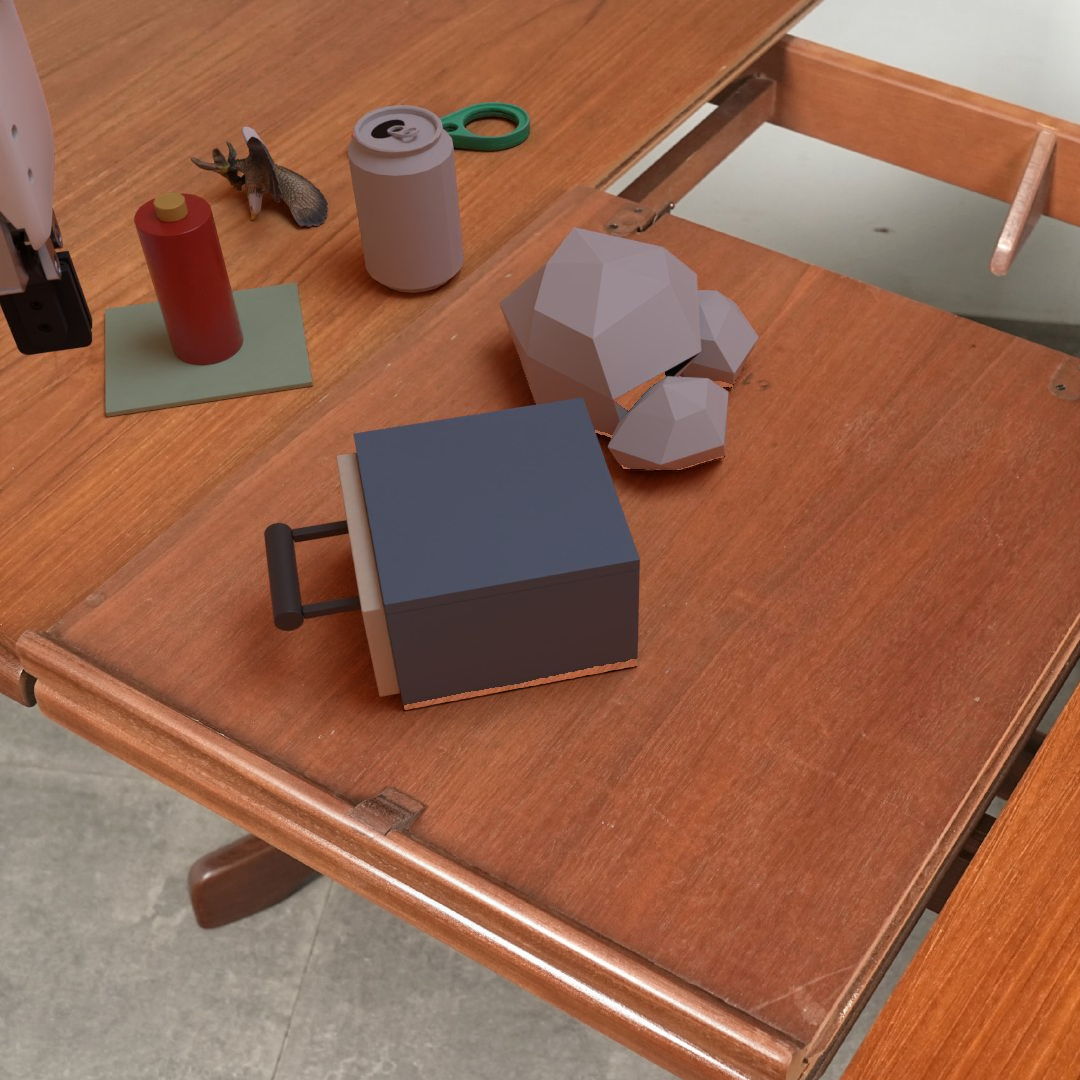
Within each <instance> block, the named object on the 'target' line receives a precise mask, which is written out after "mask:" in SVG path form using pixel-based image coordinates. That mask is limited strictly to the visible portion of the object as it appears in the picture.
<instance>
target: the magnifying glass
mask: <svg viewBox="0 0 1080 1080" xmlns="http://www.w3.org/2000/svg"><path fill="white" fill-rule="evenodd" d="M484 117H499V118H504V119H508V120H509V121H512V122H513V123H514V124H516V125H517V127H516V128H515V129H514V130H511V132H507V133H504V134H501V135H491V136H488V135H480V134H476V133H474V132H472V131H469V130H468V129H467V128H465V127H466V125H467V124H468V123H469V122H472V121H473V120H476V119H479V118H484ZM438 118H439V119H440V120H441V121H442V127H443V129H444V130H445V131H446V132H447V133H448V134H449V135H450V137H451V138H452V142H453V148H456V149H465V150H476V151H486V152H490V151H493V152H494V151H501V150H506V149H510V148H515V147H516V146H518V145H520V144H522V143H523V142H525V141H526V140H527V139H528V138H529V136H530V134H531V121H530V119H531V118H530V115H529V114H528V112H527V111H526V110H525V109H524V108H522V107H520V106H518V105H515V104H512V103H507V102H501V101H487V102H486V101H485V102H478V103H473V104H470V105H468V106H465V107H462V108H460V109H458V110H455V111H453V112H450V113H448V114H446V115H444V116H441V117H438ZM350 137H351V139H352V138H353V137H354V132H353V133H351V136H350Z"/></svg>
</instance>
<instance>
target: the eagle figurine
mask: <svg viewBox="0 0 1080 1080" xmlns="http://www.w3.org/2000/svg"><path fill="white" fill-rule="evenodd" d="M241 133H242V136H243V138H244V141H245V142H246V147H247V148H248V156H246V157H244V158H240V159H239V158H236V157H237V153H238V151H237V150H236V149H235V147H234V146H233V144H232V143H231V142H230V141H225V143H226V146H227V149H228V156H227V160H226V157H225V155H224V154H223V153H222V151H221V150H220V148H218V147H216V148H213V149H212V152H211V155H212V156H211V157H212V159H213V162H207V161H203V160H201V159H199V158H197V157H191V158H190V161H191V163H193V164H194V165H195V166H196V167H197V168H199V169H201V170H204V171H208V172H209V171H210V172H214V173H216V174H219V175H220V176H222V177H223V178H225V179H226V180H227V181H228V182H229V184H230V186H232V187H233V188H234V189H236V191H237V192H242V191H243V186H245V192H246V194H247V199H248V205H249V211H250V218H249V220H250V221H254V220H255V219H256V217H257V215H258V214H259V213H260V212H261V210H262V200H263V195H264V193H268V194H270V195H271V196H272V199H273V200H274V201H275V202H276V203H280V202H281V200H282V201H283V203H284V204H285V205H286V206H287V207H288V209H289V211H290V213H291V215H292V217H293V219H294V221H295V222H296V223H297V225H298V226H299V227H304V226H305V227H307V228H311V227H312V226H314V227H320V225H322V224H325V223H326V220H325V219H326V218H328V216H329V215H328V213H327V211H329V208H328V205H329V204H328V203H329V202H327V201H328V200H327V199H326V198H325V194H324V193H322V192H321V190H320V189H319V188H318V187H316V186H315V184H314V183H313V182H312V181H310V180H309V179H308V178H305V177H304V176H303V175H301V174H300V173H298V172H296V171H293V170H292V169H290V168H288V167H286V166H283V165H279V164H277V163H275V161H274V159H273V157H272V155H271V154H270V152H269V150H268V148H267V146H266V145H265V143H264V142H263V140H262V139H261V137H260V135H259V134H258V133H257V132H256V130H255V129H254V128H252V127H250V126H243V127H241ZM239 172H240V173H242V175H241V176H240V175H238V173H239Z"/></svg>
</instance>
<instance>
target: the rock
mask: <svg viewBox="0 0 1080 1080" xmlns="http://www.w3.org/2000/svg"><path fill="white" fill-rule="evenodd" d="M498 304H499V308H500V310H501V313H502V315H503V318H504V320H505V323H506V326H507V328H508V331H509V334H510V336H511V339H512V341H513V344H514V346H515V345H516V347H515V349H516V348H517V350H516V352H517V351H518V353H517V355H518V354H519V356H518V358H519V357H520V359H519V361H520V360H521V362H520V364H521V363H522V364H521V367H522V366H523V367H522V369H523V368H524V370H523V373H524V372H525V373H524V375H525V374H526V376H525V378H526V377H527V379H526V381H527V380H528V382H527V384H528V383H529V385H528V387H529V386H530V388H531V391H532V394H531V396H532V395H533V396H532V398H533V397H534V399H533V401H534V400H535V402H534V404H535V403H536V405H538V404H544V403H550V402H557V401H563V400H570V399H576V398H583V399H584V402H585V405H586V408H587V410H588V413H589V416H590V419H591V422H592V425H593V427H594V430H598V431H600V432H605V433H608V434H610V435H613V436H612V438H611V439H610V441H609V443H608V445H607V448H608V450H609V452H610V453H611V454H612V456H613V458H614V460H615V461H616V462H617V464H618V463H619V464H620V465H623V466H624V467H627V468H630V469H653V470H652V471H654V470H656V469H660V470H677V469H681V468H685V467H688V466H691V465H695V464H697V463H701V462H704V461H708V460H710V459H715V458H717V457H721V456H724V455H725V456H726V451H725V449H726V450H727V430H728V409H729V391H728V390H727V389H726V388H722V387H721V386H719V385H718V384H716V383H715V382H713V381H722V382H726V383H729V384H732V385H733V383H734V382H735V380H736V379H738V378H739V376H740V374H741V372H742V370H743V369H744V367H745V365H746V363H747V361H748V360H749V357H750V355H751V354H752V351H753V350H754V348H755V346H756V344H757V342H758V340H759V338H760V336H759V335H758V333H757V331H755V329H754V328H753V326H752V325H751V323H750V322H749V320H748V319H747V318H746V316H745V315H744V313H743V311H741V309H740V307H739V306H738V305H737V303H736V302H735V301H734V300H732V299H730V298H729V297H728V296H726V295H725V294H723V293H721V292H720V291H718V290H716V289H715V290H714V289H699V286H698V274H697V273H696V272H695V271H693V269H691V268H690V267H689V266H688V265H686V264H685V263H683V261H681V260H680V259H679V258H678V257H677V256H675V255H674V254H673V253H672V252H670V250H668V249H667V248H666V247H664V246H660V245H656V244H651V243H648V242H642V241H639V240H633V239H629V238H625V237H621V236H616V235H611V234H607V233H603V232H598V231H593V230H589V229H585V228H580V227H575V226H573V227H572V229H571V230H570V232H569V233H568V234H567V235H566V237H565V238H564V239H563V241H562V242H561V243H560V245H559V246H558V247H557V248H556V250H555V252H554V253H552V256H551V257H550V258H549V260H548V261H547V262H546V263H545V264H544V265H543V266H541V267H540V268H539V269H538V270H537V271H535V272H534V273H533V274H532V275H530V276H529V277H528V278H527V279H525V280H524V281H522V282H521V284H520V285H518V286H517V287H516V288H515V289H514V290H512V291H511V292H510V293H509V294H507V295H506V296H505V297H504V298H503V299H502V300H500V301H499V302H498ZM663 372H665V375H666V377H665V378H664V379H662V380H661V381H659V382H658V383H656V384H654V385H653V386H652V387H650V388H649V389H648V390H647V391H646V392H645V393H644V394H643V395H642V396H641V398H640V399H639V400H638V401H637V402H636V403H635V404H634V406H633V407H632V408H631V409H630V410H629V411H628V410H626V409H625V408H623V407H622V406H621V405H619V404H618V403H617V402H615V401H614V399H616V398H618V397H619V396H621V395H623V394H625V393H627V392H629V391H630V390H632V389H634V388H636V387H638V386H639V385H641V384H643V383H645V382H647V381H649V380H650V379H652V378H654V377H656V376H658V375H659V374H661V373H663ZM679 376H681V377H679ZM737 377H738V378H737ZM736 381H737V380H736ZM735 383H736V382H735ZM530 388H529V389H530ZM531 391H530V392H531ZM619 464H618V465H619ZM620 465H619V466H620Z"/></svg>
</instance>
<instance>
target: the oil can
mask: <svg viewBox="0 0 1080 1080" xmlns="http://www.w3.org/2000/svg"><path fill="white" fill-rule="evenodd" d="M133 222H134V226H135V229H136V233H137V236H138V240H139V242H140V247H141V249H142V253H143V255H144V259H145V262H146V267H147V269H148V272H149V276H150V279H151V282H152V286H153V289H154V292H155V296H156V298H157V299H156V300H157V302H158V303H159V306H160V309H161V313H162V316H163V319H164V323H165V326H166V329H167V333H168V336H169V339H170V343H171V346H172V349H173V352H174V354H175V355H176V356H177V357H178V358H179V359H180V360H182V361H184V362H186V363H189V364H194V365H210V364H215V363H219V362H222V361H224V360H226V359H228V358H230V357H232V356H233V355H235V354H236V353H237V352H238V351H239V350H240V348H241V346H242V344H243V333H242V329H241V325H240V321H239V317H238V313H237V309H236V305H235V301H234V297H233V293H232V291H233V290H232V285H231V282H230V278H229V273H228V270H227V266H226V261H225V258H224V254H223V249H222V246H221V241H220V238H219V234H218V233H219V232H218V229H217V225H216V222H215V218H214V214H213V210H212V207H211V204H210V203H209V202H208V201H207V200H206V199H205V198H203V197H201V196H198V195H195V194H191V193H182V192H180V193H179V192H172V191H171V192H165V193H161V194H159V195H158V196H156V197H153V198H152V199H150V200H148V201H146V202H144V203H143V204H141V206H140V207H138V209H137V210H136V212H135V214H134V217H133Z"/></svg>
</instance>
